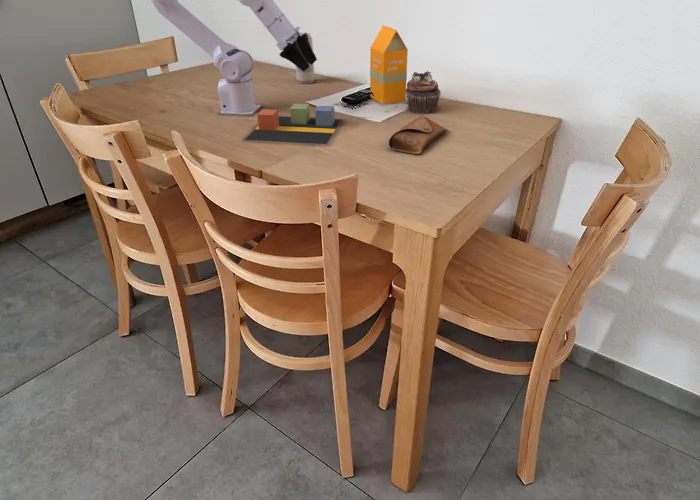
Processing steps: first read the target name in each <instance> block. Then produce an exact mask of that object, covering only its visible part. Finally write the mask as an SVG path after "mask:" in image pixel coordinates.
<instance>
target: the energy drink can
mask: <svg viewBox="0 0 700 500" xmlns="http://www.w3.org/2000/svg"><path fill="white" fill-rule="evenodd" d="M300 33H301V34H302V35H303V34H304V33H306V34H307V35H308V40H309V43H310V46H311V48H312V50H313V51H314V45H313V38H312V36H311V33H309V32H300ZM295 74H296V80H297V82H298V83H299V84H302V85H303V84H311V83H313V82H314V80H315V62H314V63H313V64H312V65H311V64H309V67H308V68H307V69H306V70H305V71H302V70H301V69H299V68H298V67H297V66H296V65H295Z"/></svg>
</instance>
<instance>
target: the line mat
mask: <svg viewBox="0 0 700 500" xmlns="http://www.w3.org/2000/svg"><path fill="white" fill-rule="evenodd" d="M341 121H342V119H341V118H335V122H334V124H333V125H332V127H325V126H316V117H310V120H309V122H308V123H307V124H291V116H279V126H278V128H277V129H276V130H275V131H267V130H259V125H257V126H256V127H255V128H254V130H252V131H251V133H249V135H247V137H246V138H245V139H244V141H258V142H259V141H260V142H277V143H296V144H311V145H313V144H314V145H327V144H328V142H329V141H330V139H331V138H332V136H333V134H334V133H335V131H336V129H337V128H338V126H339V124H340V123H341Z"/></svg>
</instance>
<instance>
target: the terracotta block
mask: <svg viewBox="0 0 700 500" xmlns="http://www.w3.org/2000/svg"><path fill="white" fill-rule="evenodd" d="M256 115H257V123H258V125H257V126H259V130H267V131H275V130H276V129H277V128H278V126H279V117H280V116H279V109H267V108H263V109H261V110H260V111H259V112H258V113H257V114H256Z"/></svg>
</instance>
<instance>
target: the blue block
mask: <svg viewBox="0 0 700 500" xmlns="http://www.w3.org/2000/svg"><path fill="white" fill-rule="evenodd" d="M314 114H315V115H314V118H316V126H325V127H332V125H333V124H334V122H335V119H336V118H335V117H336V116H335V115H336V113H335V105H318V106H317V107H316V109H315V110H314Z"/></svg>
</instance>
